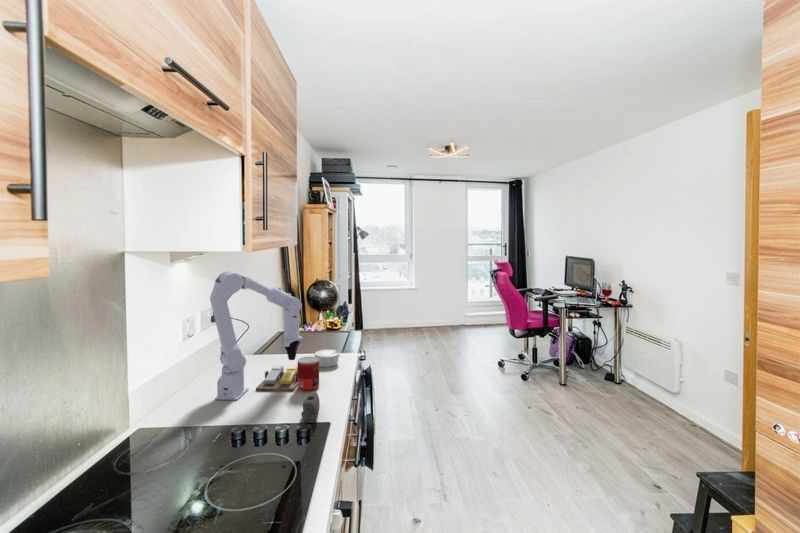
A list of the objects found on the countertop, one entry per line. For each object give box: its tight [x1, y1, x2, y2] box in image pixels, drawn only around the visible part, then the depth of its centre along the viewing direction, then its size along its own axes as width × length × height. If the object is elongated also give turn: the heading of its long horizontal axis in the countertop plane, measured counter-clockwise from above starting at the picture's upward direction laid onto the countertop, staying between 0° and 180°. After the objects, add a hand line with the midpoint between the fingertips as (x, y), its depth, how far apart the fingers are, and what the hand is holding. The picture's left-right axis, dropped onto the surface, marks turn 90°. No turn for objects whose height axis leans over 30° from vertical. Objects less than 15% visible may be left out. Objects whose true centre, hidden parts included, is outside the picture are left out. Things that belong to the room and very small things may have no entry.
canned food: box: [297, 356, 320, 392], centre depth 136 cm, size 8×8×11 cm
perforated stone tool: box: [301, 391, 321, 424], centre depth 115 cm, size 15×5×7 cm, turn 7°
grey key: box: [263, 364, 284, 384], centre depth 141 cm, size 10×4×2 cm, turn 179°
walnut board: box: [255, 370, 298, 392], centre depth 141 cm, size 16×14×4 cm
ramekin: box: [314, 349, 341, 368], centre depth 164 cm, size 11×11×5 cm
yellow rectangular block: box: [280, 365, 298, 384], centre depth 141 cm, size 10×4×2 cm, turn 179°
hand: (292, 359), depth 145 cm, fingers closed
